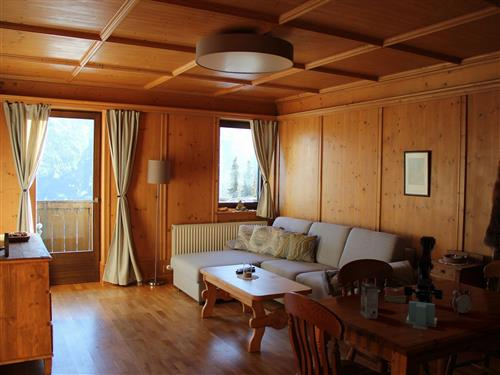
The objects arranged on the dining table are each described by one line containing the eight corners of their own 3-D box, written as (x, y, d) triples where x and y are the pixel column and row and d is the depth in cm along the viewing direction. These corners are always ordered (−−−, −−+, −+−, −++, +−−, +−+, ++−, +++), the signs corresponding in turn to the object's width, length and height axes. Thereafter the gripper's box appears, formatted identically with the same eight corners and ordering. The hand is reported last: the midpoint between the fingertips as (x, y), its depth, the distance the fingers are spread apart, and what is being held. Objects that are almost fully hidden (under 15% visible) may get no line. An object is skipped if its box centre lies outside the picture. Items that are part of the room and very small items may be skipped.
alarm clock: (455, 315, 245) (456, 287, 245) (449, 312, 250) (450, 284, 249) (473, 314, 248) (473, 286, 248) (466, 311, 253) (467, 283, 252)
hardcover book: (384, 302, 270) (384, 295, 270) (385, 293, 290) (385, 286, 290) (406, 304, 266) (406, 296, 266) (405, 295, 286) (405, 288, 286)
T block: (409, 318, 238) (409, 300, 237) (434, 321, 233) (434, 303, 233) (407, 323, 230) (407, 305, 229) (433, 327, 225) (434, 308, 224)
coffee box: (359, 313, 246) (360, 282, 246) (371, 313, 247) (372, 282, 246) (365, 318, 237) (366, 287, 237) (378, 318, 238) (378, 287, 237)
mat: (408, 315, 244) (408, 314, 244) (437, 318, 239) (437, 318, 239) (404, 326, 225) (404, 326, 225) (435, 331, 220) (435, 330, 220)
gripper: (404, 270, 244) (401, 296, 234) (443, 273, 236) (442, 300, 226) (405, 282, 251) (402, 307, 241) (443, 286, 243) (442, 312, 234)
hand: (422, 306), depth 235 cm, fingers closed
